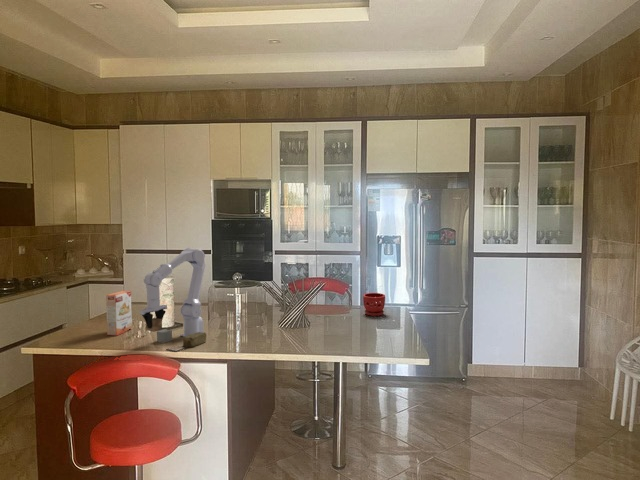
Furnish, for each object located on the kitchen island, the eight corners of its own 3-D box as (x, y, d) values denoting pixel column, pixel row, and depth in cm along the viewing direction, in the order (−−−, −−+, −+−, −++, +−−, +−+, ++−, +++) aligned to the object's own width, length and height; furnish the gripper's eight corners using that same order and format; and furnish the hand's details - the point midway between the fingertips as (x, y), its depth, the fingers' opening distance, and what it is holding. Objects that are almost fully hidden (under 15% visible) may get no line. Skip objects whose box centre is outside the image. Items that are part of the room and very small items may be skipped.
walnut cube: (154, 328, 241) (154, 317, 241) (162, 329, 238) (161, 318, 238) (146, 330, 237) (146, 319, 236) (153, 331, 234) (153, 321, 234)
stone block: (207, 342, 241) (207, 332, 241) (191, 348, 231) (191, 338, 231) (197, 340, 244) (197, 330, 244) (181, 347, 234) (181, 336, 233)
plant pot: (359, 313, 303) (359, 293, 302) (377, 311, 308) (377, 292, 307) (370, 317, 291) (370, 297, 290) (389, 315, 296) (389, 295, 295)
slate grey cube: (164, 339, 247) (164, 329, 247) (172, 340, 245) (171, 330, 244) (156, 341, 243) (156, 331, 243) (164, 342, 240) (163, 332, 240)
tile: (176, 346, 234) (176, 345, 234) (186, 348, 230) (186, 347, 230) (166, 350, 228) (166, 348, 228) (176, 352, 225) (176, 350, 225)
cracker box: (117, 336, 253) (115, 295, 252) (106, 335, 254) (105, 295, 253) (132, 329, 267) (131, 290, 265) (122, 328, 268) (121, 290, 267)
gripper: (159, 295, 245) (160, 322, 246) (135, 300, 232) (136, 329, 233) (169, 296, 241) (170, 324, 242) (145, 301, 229) (146, 331, 230)
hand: (154, 326), depth 237 cm, fingers closed on walnut cube, 5 cm apart
